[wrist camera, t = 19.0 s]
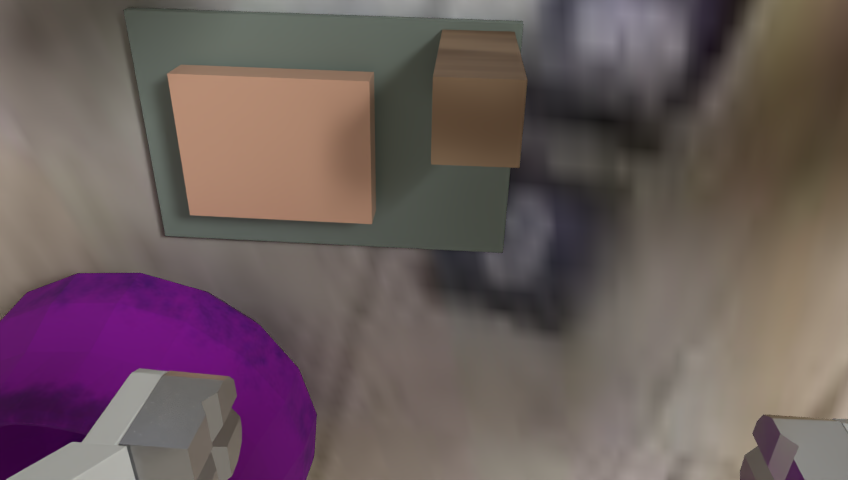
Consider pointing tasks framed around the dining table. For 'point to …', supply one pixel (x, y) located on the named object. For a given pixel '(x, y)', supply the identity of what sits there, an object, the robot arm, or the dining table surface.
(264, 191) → the tile
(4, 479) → the decorative plant
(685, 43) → the dining table surface
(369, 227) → the mat
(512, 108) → the walnut block
